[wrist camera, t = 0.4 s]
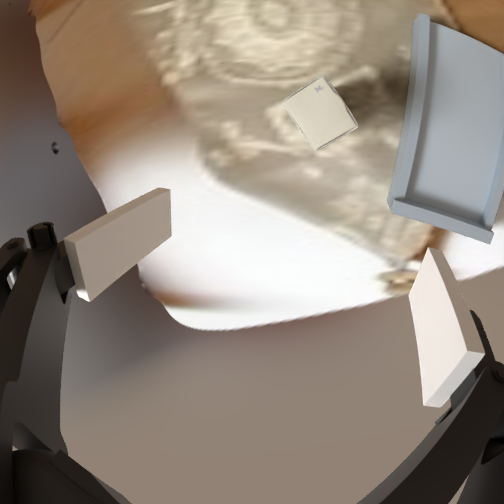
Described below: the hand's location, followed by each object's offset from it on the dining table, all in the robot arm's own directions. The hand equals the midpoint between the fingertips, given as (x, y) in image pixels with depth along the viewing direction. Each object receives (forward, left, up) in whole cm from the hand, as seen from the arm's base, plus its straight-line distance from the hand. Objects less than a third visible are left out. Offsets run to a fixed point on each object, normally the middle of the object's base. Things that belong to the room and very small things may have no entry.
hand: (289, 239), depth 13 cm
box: (-6, -1, -24) cm, 25 cm away
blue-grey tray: (-9, +15, -24) cm, 30 cm away
